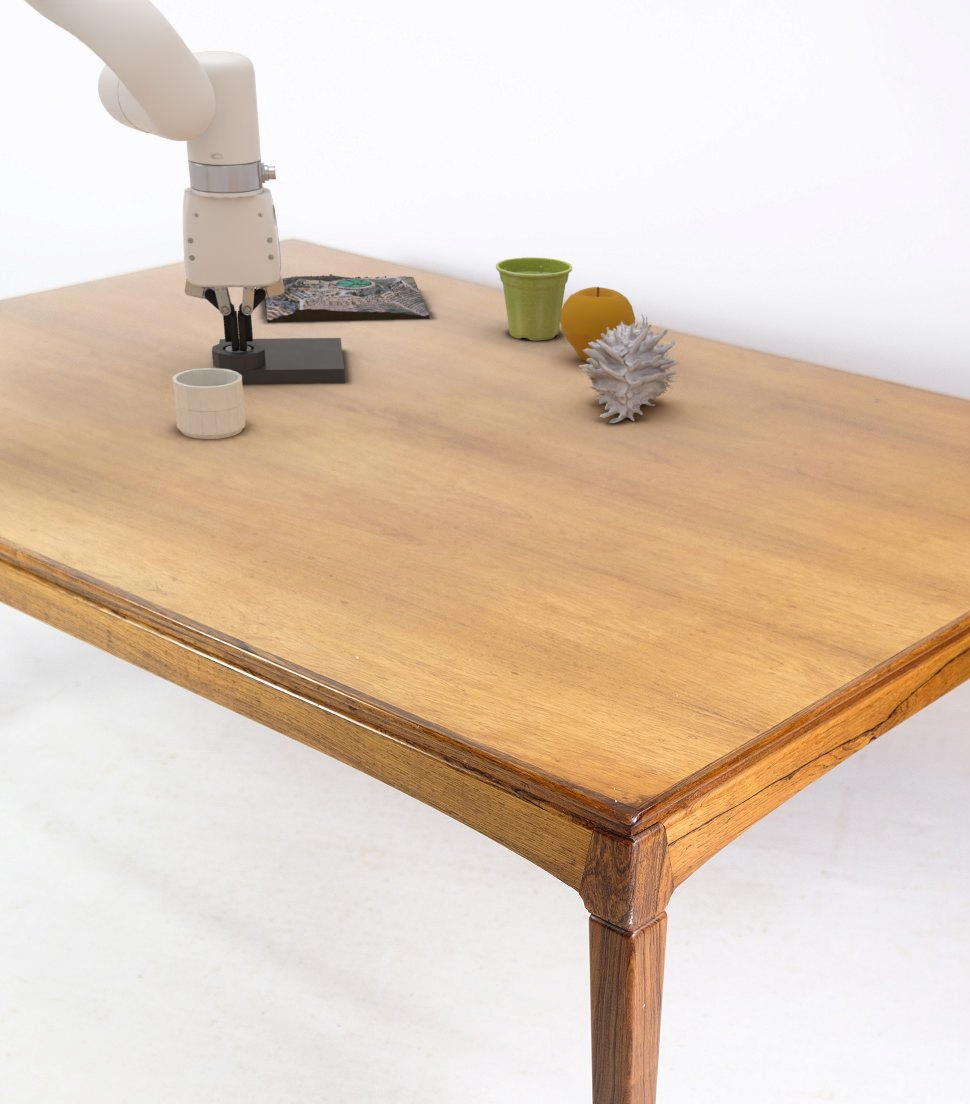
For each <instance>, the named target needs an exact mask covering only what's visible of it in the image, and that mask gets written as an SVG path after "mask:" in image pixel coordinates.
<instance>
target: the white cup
mask: <svg viewBox="0 0 970 1104" xmlns="http://www.w3.org/2000/svg"><path fill="white" fill-rule="evenodd" d="M171 380H172V389H173V400H174V401H173V402H174V410H175V411H174V412H175V421H176V422H175V423H176V428H177V429H178V430H179V431H180V433H181V434H183V435H184V436H186V437H188V438H189V437H190V438H193V439H199V440H216V439H218V440H219V439H226V438H230V437H233V436H236V435H239V434H240V433H241V432H243V430H244V428H245V427H246V410H245V395H244V385H243V381H242V375H241V374H239V373H238V372H236V371H232V370H229V369H220V368H216V367H201V368H192V369H187V370H183V371H180V372H177V373H176V374H175V375H173V376H172V379H171Z"/></svg>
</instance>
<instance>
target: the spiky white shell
mask: <svg viewBox="0 0 970 1104" xmlns="http://www.w3.org/2000/svg"><path fill="white" fill-rule="evenodd" d="M641 316H642V324H641V326H640V327H638V326H639V322H638V321H635V326H634V323H633V324H632V325H631V326H627V325H624V324H623V322H622V320H621V324H620V325H619V326H616V327H617V330H616V329H615V328H613V331H611V330H609V328H608V327H607V334H606V335H605V334H604V333H602V334H601V336H602V338H603V340H598V339H597V340H596V342H597V343H594V342H593V341H591V343H589V342H588V344H589V346H591V347H592V348H593V349H584V350H583V352H584V353H586V354H587V355H588V356H590V357H591V358H588V359H587V360H586V361H587V362H589V363H587V362H586V361H585V362H586V363H583V364H579V365H578V368H579V369H581V371H582V372H583V373H584V374H585V376H588V377H587V379H588V380H590V381H591V384H592V385H591V386H589V388H590V389H592V390H595V392H596V393H598V394H599V395H598V396H597V397H596V398H595V400H597V401H598V404H599V405H603V404H606V405H605V406H604V410H605V411H607V412H604V413H601V414H600V415H599V418H600V419H605V418H609V417H611V416H614V415H616V414H619V415H618V417H615V418H612V419H611V420H609V422H608V423H609V424H615V423H618V422H620V421H622V420H624V419H625V418H626V419H628V418H629V419H630V420H631V421H632V422H635V417H634V414H639V415H640V416H643V415H644V413H643V411H642V410H641V406H642V405H646V406H650V407H654V406H656V404H655V403H651V401H654V400H655V399H656V398H657V397H660V396H662V395H664V394H666V392H668V389H667V388H670V389H673V386H672V385H671V384H670V383H676V382H677V381H676V380H673V379H674V378H675V377H676V375H677V369H675V370H670V368H672V367H674V366H677V365H679V364H680V363H681V361H679V360H675V359H674V358H671V357H668V356H669V354H670V351H669V350H670V349H672V348H673V347H674V346H675V345H676V341H675V340H672V341H670V342H669V343H666V344H665V343H660V344H659V342H660V341H661V340H662V339H663V338H664V337H665V335H667V333H668V330H669V329H665V330H663V331H662V332H659V331H657V332H656V335H654V331H653V330H652V329H651V328H652V324H649V322H648V316H646V317H644V314H641ZM650 329H651V330H650Z"/></svg>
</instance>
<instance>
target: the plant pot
mask: <svg viewBox="0 0 970 1104" xmlns="http://www.w3.org/2000/svg"><path fill="white" fill-rule="evenodd" d="M495 269H496V271H498V273H499V279H500V281H501V283H502V287H503V295H504V301H505V309H506V316H507V324H508V330H509V335H510V336H511V337H512V338H515V339H517V340H521V339H523V338H525V339H527V340H528V341H534V342H536V341H537V342H538V341H549V340H552V339H554V338H555V336H558V335H559V332H560V327H561V323H560V316H561V311H562V308H563V305H564V297H565V290H566V284H567V283H568V280H569V277H570V276H569V275H570V273H571V272H573V271H572V270H573V265H572V264H571V263H569V262H567V261H565V260H561V259H556V258H550V257H536V256H535V257H534V256H533V257H532V256H531V257H529V256H525V257H513V258H508V259H503V260H500V261H498V262H497V263H496V264H495Z"/></svg>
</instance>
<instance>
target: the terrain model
mask: <svg viewBox="0 0 970 1104" xmlns="http://www.w3.org/2000/svg"><path fill="white" fill-rule="evenodd" d="M282 280H283V283H284V286H285V292H284V293H283V294H282V295H278V296H274V297H271V298H265V299H264V300H263V301H264V305H265V311H266V320H267V323H268V324H270V323H273V324H274V323H277V324H278V323H307V322H308V323H313V322H315V323H317V322H353V321H354V322H355V321H356V322H357V321H393V320H395V321H396V320H398V321H399V320H428V319H430V314H429V312H428V309H427V307H426V305H425V302H424V300H423V298H422V295H421V293H420V290H419V288H418V285H417V282H416V280H415V277H414V276H406V275H403V276H402V275H400V276H387V275H384V276H382V277H380V276H377V277H368V276H364V277H361V276H355V277H346V276H340V275H333V274H332V273H330V274H329V275H314V276H313V275H303V276H301V275H300V276H298V275H295V276H290V277H284V278H283V277H282Z"/></svg>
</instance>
